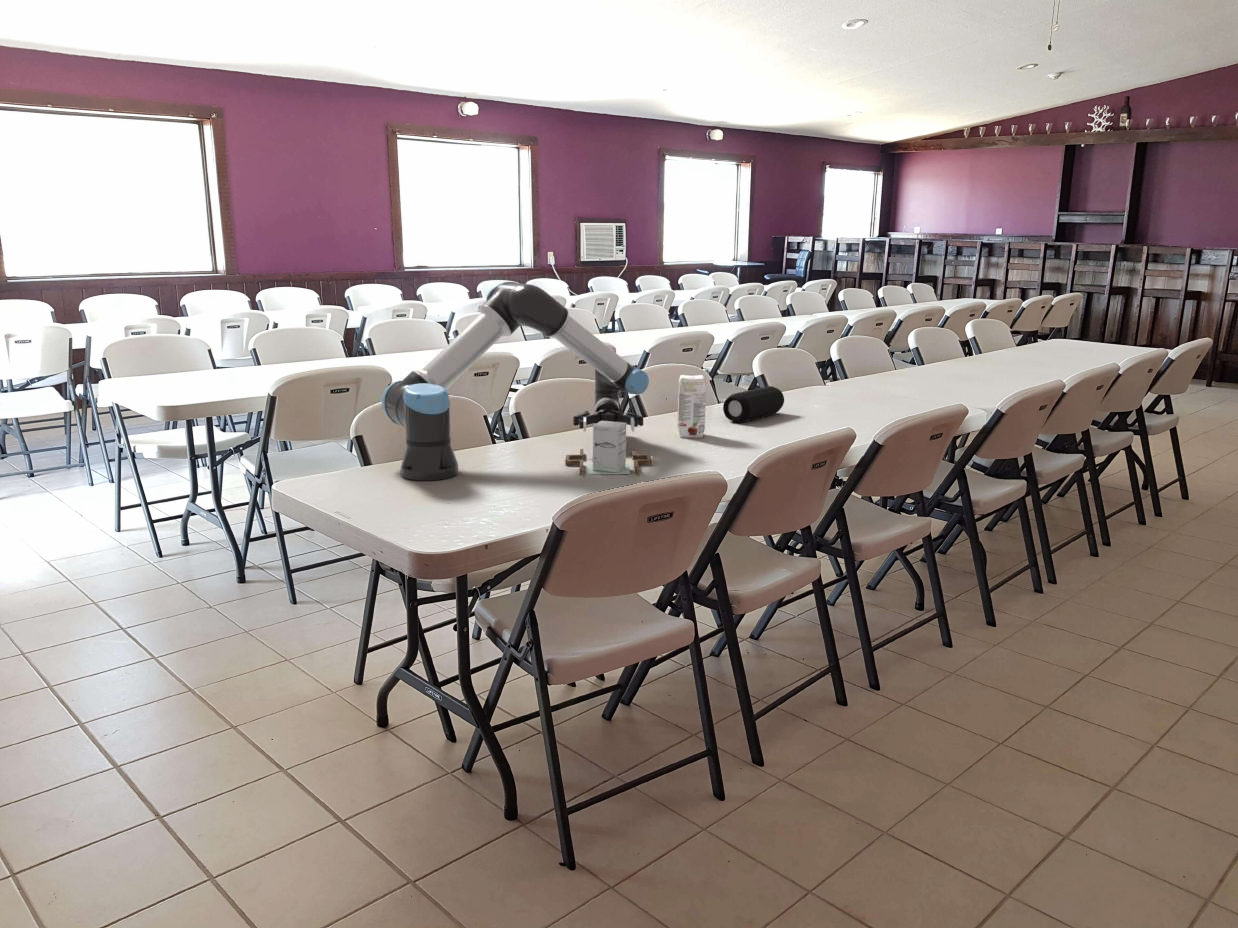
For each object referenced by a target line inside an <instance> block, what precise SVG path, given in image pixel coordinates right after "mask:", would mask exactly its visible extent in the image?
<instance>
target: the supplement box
mask: <svg viewBox="0 0 1238 928" xmlns="http://www.w3.org/2000/svg"><path fill="white" fill-rule="evenodd" d="M592 426H593V427H592V428H593V429H592V464H593V470H599V471H608V472H616V473H618V472H619V471H620V470H622V469H623V468H624V467H625V465H626V464H627V463H626V462H627V461H626V459H627V458H626V457H627V453H626V452H627V426H628V425H627V423H623V422H612V421H600V422H598V423H597V424H596V423H594V424H593V425H592Z"/></svg>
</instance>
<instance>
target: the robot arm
mask: <svg viewBox="0 0 1238 928" xmlns="http://www.w3.org/2000/svg"><path fill="white" fill-rule="evenodd" d="M485 300H486V301H485V302H483V303H482V305H480V313H479V315H477V317H476V318H475V319H473V320H472V322H471V323H470V324H468V325H467V326H466V327H465V328H464V329H463V330H462V331H460V333H459V334H458V335H456V337H455V338H454V339H452V340H451V341H450V343H448V344H447V345H446V346H445V347H444V348H443V349H442V350H441V351H440V352H439V353H438V354H437V355H436V356H435V357H434V358H433V359H431V360H430V361H429V363H427V364H426V365H425V366H424V367H423V368H422V369H421V370H411V372H410V373H408V374H407V376H405V378H403V379H402V380H396V381H394V382H392V383H391V384H389V385H388V386H387V387H386V389H384V391H383V393H382V397H381V409H382V410H383V413H384V415H385V416H386V417H387V418H388V419H389V420H391V422H392V423H394V424H395V425H398V426H402V427H404V429H405V444H406V445H405V451H404V455H403V457H402V461H401V465H400V475H401V477H402V478H404V479H407V480H412V481H423V482H424V481H426V482H427V481H440V480H445V479H451V478H453V477H455V476H457V475H458V474H459V473H460V471H459V463H458V461H457V457H456V455H455V452H454V449H453V447H452V443H451V442H452V441H451V439H452V437H451V410H450V409H451V408H450V407H451V400H450V396H449V391H448V389H450V387H451V386H452V385H453V384H454V383H455V382H456V381H457V380H458V379H459V378H460V377H461V376H463V374H464V373H465V372H466V371H467V370H468V369H469V368H470V367H471V366H473V364H475V363H476V362H477V360H479V359H480V358H481V357H482V356H483V355H484V354H485V353H486V352H487V351H488V350H489V349H490V348H491V347H492V346H493V345H494V344H496V342H497V341H499V339H500V338H501V337H510V336H511V335H512V334H513V333H515V331H516V330H517V329H518V328H520V327H521V326H523V327H527V328H531V329H533V330H535V331H537V332H540V333H541V334H543V336H545V337H547V338H550V337H552V338H554V339H555V340H556V341H557V342H559V343H560V344H562V345H563V346H564V347H566V348H567V349H568V350H569V351H570V352H572V353H574V355H576V356H577V357H579V358H580V359H581V360H582V361H584V362H585V363H586V364H588V365H589V366H591V367H592V368H593V369H594V382H595V384H594V387H595V389H594V413H591V412H590V411H589V410H585V411H584V412H582V413H579V414H577V415H574V416H573V419H572V420H573V422H572V423H573V424H572V425H573V426H579V429H582V430H583V432H587V426H588V425H592V424H593V425H594V424H597V423H598V422H600V421H612V422H623V423H627V425H626V426H630V430H631V432H635V428H636V427H637V428H638V426H639V427H643V426H644V416H641V415H638V414H636V413H633V412H631V411H626V412H625V413H623V411H620V391H621V392H624V393H628V394H629V395H641V394H643V393H645V391H647V389H648V386H649V383H650V379H649V375H648V374H647V372H646V371H644V370H643V369H640V368H636V367H634V366H633V365H632V364H631V363H629V362H628V361H626V360H625V359H624V358H623V357H621V356H620V355H619V354H618V353H616V352H615V351H614V350H613V349H611V348H610V347H609V346H608V345H606V343H604V342H603V341H602V340H600V339H599V338H598V337H597V336H596V335H594V334H593V333H591V332H590V331H589V330H588V329H587V328H585V327H584V326H583V325H581V324H580V323H579V322H578V321H577V320H576V319H574V318H573V317H571V315H570V314H569V310H568V309H567V308H566V307H565V306H564V305H562V304H561V303H560V302H559V301H558V300H557V299H556V298H554V297H553V296H552V295H550V294H549V293H548V292H546V291H545V290H544V289H543V288H541V287H539V286H537V285H534V284H527V283H520V282H515V281H505V282H499V283H498V284H495V285H494V286H493V287H492V288H491V289H490V290H489V291H488V293H487V295H486V299H485Z"/></svg>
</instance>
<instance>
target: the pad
mask: <svg viewBox="0 0 1238 928" xmlns="http://www.w3.org/2000/svg"><path fill="white" fill-rule="evenodd" d="M630 471H631V470H630V465H629V464H628V463H626V465H625V467H624V468H623V469H622V470H620V471H619V472H618V473H616V472H608V471H599V470H593V463H589V464H588V475H590V476H597V475H598V476H599V475H600V476H601V474H630V475H631V472H630Z"/></svg>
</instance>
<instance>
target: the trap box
mask: <svg viewBox="0 0 1238 928" xmlns="http://www.w3.org/2000/svg"><path fill="white" fill-rule="evenodd" d="M630 454H631V457H632V461H633V469H634V474H635V476H640V467H644V466H645V467H647V466H652V465H653V464H652V463H653V459H652V456H651V454H647V453H646V454H638V453H637V452H636V449H635V448H631V453H630ZM564 458H565V460H564V461H565V463H564V465H565V466H567V467H573V466H574V467H579V476H584V448H579V454H565V457H564Z"/></svg>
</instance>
